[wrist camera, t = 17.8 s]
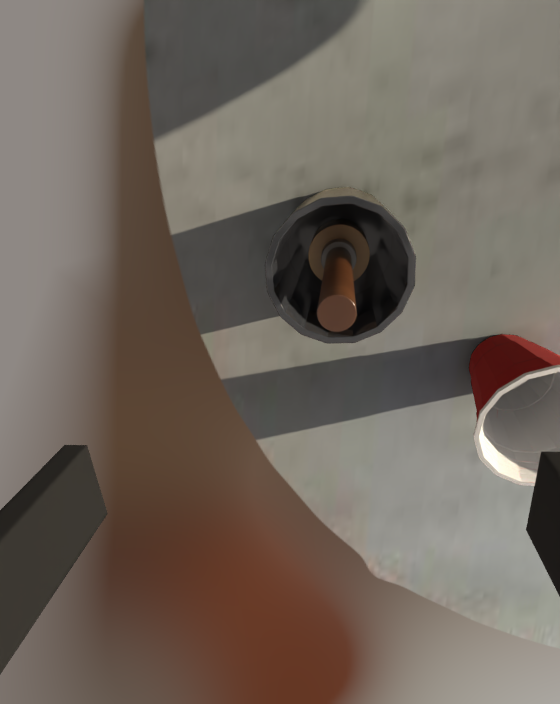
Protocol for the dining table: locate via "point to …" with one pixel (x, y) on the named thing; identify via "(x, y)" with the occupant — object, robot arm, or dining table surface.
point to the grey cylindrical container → (370, 288)
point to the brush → (338, 271)
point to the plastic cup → (515, 405)
